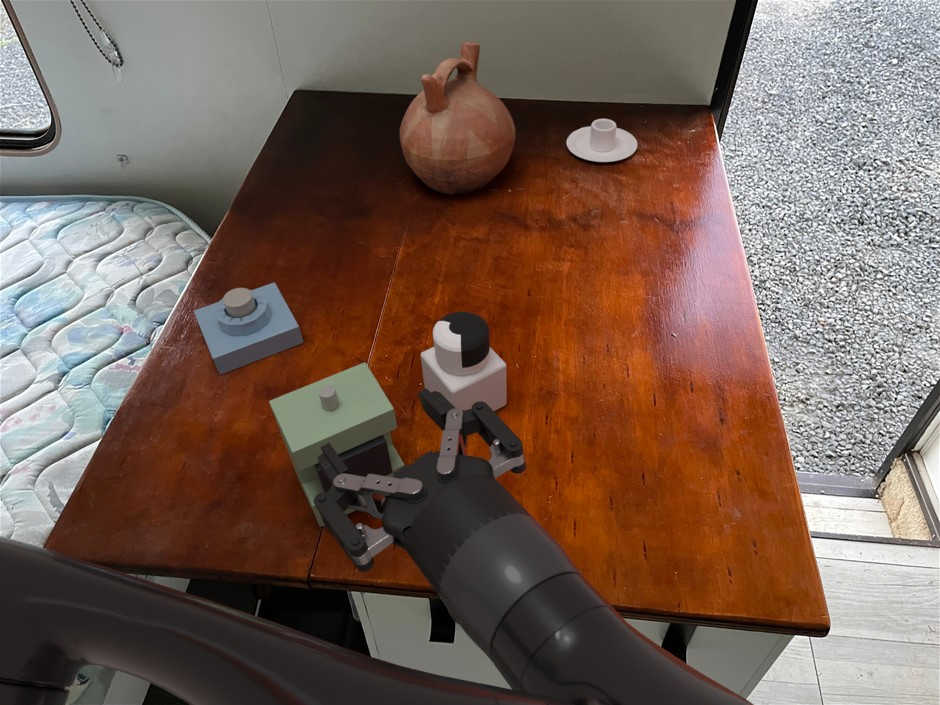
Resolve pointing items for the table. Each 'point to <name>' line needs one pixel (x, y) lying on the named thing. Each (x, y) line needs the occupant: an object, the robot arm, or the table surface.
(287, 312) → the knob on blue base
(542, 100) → the table surface
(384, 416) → the green block with peg
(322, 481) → the paddle
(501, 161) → the jug
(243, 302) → the short grey cylinder plug
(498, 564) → the robot arm
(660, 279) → the table surface
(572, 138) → the candle holder
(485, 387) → the medicine bottle
